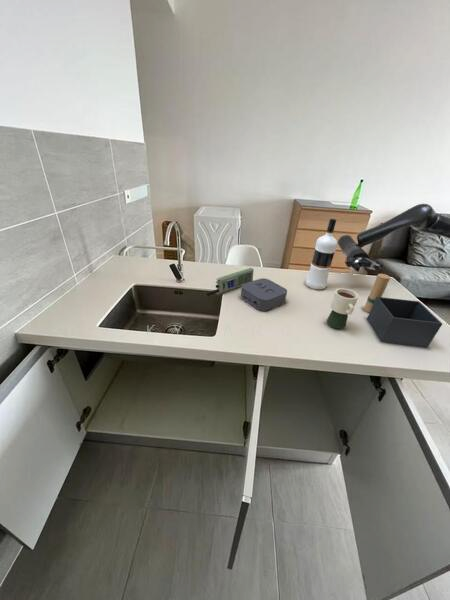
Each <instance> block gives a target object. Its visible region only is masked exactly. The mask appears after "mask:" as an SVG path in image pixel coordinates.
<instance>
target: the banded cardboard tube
mask: <svg viewBox="0 0 450 600" xmlns="http://www.w3.org/2000/svg"><path fill="white" fill-rule="evenodd" d="M390 279H391V276H390V275H388V274H385V273H381V274H378V273H377V276H376V278H375V280H374V283H373V285H372V288H371V289H370V292H369V295H368V296H367V299H366V302H365V305H364V307H363V310H364V312H367V313H368V314H369V313H370V311H371V308H372V306H373V304H374V301H375V299H376V297H383V295H384V293H385V290H386V289H387V286H388V284H389V282H390Z"/></svg>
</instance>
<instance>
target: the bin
mask: <svg viewBox="0 0 450 600" xmlns="http://www.w3.org/2000/svg"><path fill="white" fill-rule="evenodd" d="M366 320H367V321H368V323H369V324H370V326H371V327H372V329H373V331H374V333H375V334H376V336H377V337H378V339H379V341H380V342H381V343H386V344H395V345H403V346H412V347H420V348H427V349H428V347H429V346H430V344H431V343H432V341H433V340H434V338H435V337H436V335H437V333H438V332H439V331H440V329H441V327H442V326H443V322H441V320H440V319H438V318H437V317H436V316H435V315H434V314H433V313H432V312H431V311H430V310H429V309H428V308H427V307H426V306H425V305H424V304H422V302H421V301H419V300H411V299H402V298H392V297H383V296H382V297H376V299H375V301H374V304H373V306H372V308H371V311H370V313H369V312H368V315H367V317H366Z"/></svg>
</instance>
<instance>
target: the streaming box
mask: <svg viewBox="0 0 450 600" xmlns="http://www.w3.org/2000/svg"><path fill="white" fill-rule="evenodd" d="M240 289H241V290H240V298H241V300H243V301H244V302H246V303H248V304H249V305H251V306H252V307H254V308H255V309H256V310H258V311H262V312H266V311H267V312H268V311H269V310H272V309H274V308H276V307H278V306H281V305H283V304H285V303H286V300H287V294H288V289H287V288H286V287H284V286H281V285H279V284H278V283H276V282H275V281H273V280H271V279H269V278H257V279H253V281H251V282H248V283H245V284H243V285H242V286H241V288H240Z"/></svg>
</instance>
